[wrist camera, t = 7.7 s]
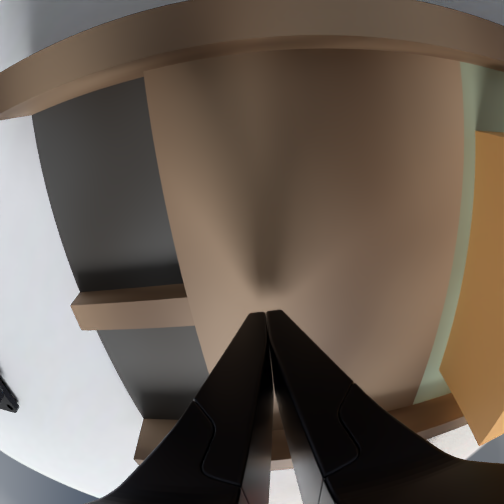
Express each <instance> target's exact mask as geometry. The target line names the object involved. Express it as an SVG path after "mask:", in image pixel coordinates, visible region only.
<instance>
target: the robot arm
mask: <svg viewBox="0 0 504 504" xmlns="http://www.w3.org/2000/svg"><path fill="white" fill-rule="evenodd" d="M266 320H267V321H266ZM270 357H271V358H270ZM271 366H272V367H271ZM272 375H273V377H272ZM273 384H274V387H273ZM274 391H275V396H276V401H277V404H278V408H279V412H280V416H281V420H282V424H283V428H284V432H285V436H286V440H287V444H288V447H289V451H290V455H291V459H292V463H293V467H294V471H295V474H296V478H297V482H298V486H299V490H300V493H301V497H302V501H303V504H504V464H500V463H487V462H477V461H468V460H463V459H460V458H456V457H454V456H451V455H449V454H447V453H445V452H443V451H442V450H440V449H438V448H437V447H435V446H434V445H433V444H431V443H430V442H428V441H427V440H425V439H424V438H423V437H421V436H420V435H418V434H417V433H416V432H414V431H413V430H411V429H410V428H409V427H407V426H406V425H404V424H403V423H402V422H400V421H399V420H398V419H396V418H395V417H394V416H392V415H391V414H390V413H388V412H387V411H386V410H385V409H383V408H382V407H381V406H380V405H378V404H377V403H376V402H375V401H374V400H373V399H372V398H371V397H370V396H369V395H367V394H366V393H365V392H364V391H363V390H362V389H361V388H360V387H359V386H358V385H357V384H356V383H354V381H353V380H352V379H351V378H350V377H349V376H348V375H347V374H346V373H345V372H344V371H343V370H342V369H341V368H340V367H339V366H338V365H337V364H336V363H335V362H334V361H333V360H332V359H331V358H330V357H329V356H328V355H327V354H326V353H325V352H324V351H323V350H322V349H321V348H320V347H319V346H318V345H317V344H316V343H315V342H314V341H313V340H312V339H311V338H310V337H309V336H308V335H307V334H306V333H305V332H304V331H303V330H302V329H301V328H300V327H299V326H298V325H297V324H296V323H295V322H294V321H293V320H292V319H291V318H290V317H289V316H288V315H287V314H286V313H285V312H284V311H283V310H281V309H279V310H271V311H267V312H266V314H265V312H263V311H262V312H253V313H249V314H248V316H247V317H246V319H245V320H244V322H243V324H242V325H241V327H240V328H239V330H238V331H237V333H236V335H235V336H234V338H233V339H232V341H231V342H230V344H229V345H228V347H227V348H226V350H225V352H224V353H223V355H222V356H221V358H220V359H219V361H218V362H217V364H216V365H215V367H214V368H213V370H212V371H211V373H210V375H209V376H208V378H207V379H206V381H205V382H204V384H203V385H202V387H201V388H200V390H199V391H198V393H197V394H196V396H195V397H194V399H193V400H194V401H191V403H190V404H189V406H188V407H187V409H186V410H185V412H184V413H183V415H182V416H181V417H180V419H179V420H178V421H177V423H176V424H175V426H174V427H173V428H172V429H171V431H170V432H169V433H168V434H167V435H166V436H165V438H164V439H163V440H162V441H161V442H160V444H159V445H158V446H157V447H156V448H155V449H154V450H153V451H152V452H151V453H150V455H149V456H148V457H147V458H146V459H145V460H144V461H143V462H142V463H141V464H140V465H139V466H138V467H137V468H136V469H135V471H134V472H133V473H132V474H131V475H130V476H129V477H128V478H127V479H126V480H125V481H124V482H123V483H122V484H121V485H120V486H119V487H117V488H116V489H115V490H114V491H112V492H111V493H109V494H108V495H106V496H104V497H102V498H100V499H98V500H95V501H92V502H89V503H85V504H268V502H269V486H270V469H271V451H272V430H273V407H274ZM0 409H3V410H7V411H10V412H14V413H16V412H17V410H18V409H19V405H18V404H17V402H16V401H15V400H14V398H13V397H12V396H11V394H10V393H9V392H8V390H7V389H6V388H5V386H4V385H3V384H2V382H1V381H0Z"/></svg>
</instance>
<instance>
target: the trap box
mask: <svg viewBox="0 0 504 504" xmlns="http://www.w3.org/2000/svg"><path fill="white" fill-rule="evenodd" d="M29 115H32V120H33V126H34V132H35V138H36V143H37V149H38V154H39V159H40V163H41V168H42V172H43V177H44V181H45V185H46V189H47V193H48V197H49V200H50V204H51V208H52V211H53V215H54V218H55V222H56V225H57V228H58V231H59V235H60V238H61V241H62V244H63V247H64V250H65V253H66V256H67V259H68V261H69V264H70V267H71V270H72V272H73V275H74V278H75V280H76V283H77V286H78V288H79V291H80V293H79V295H78V296H77V297H76V299H75V300H74V301H73V303H72V304H71V305H70V306H71V308H72V310H73V313H74V315H75V317H76V319H77V321H78V324H79V326H80V328H81V330H97V332H98V335H99V337H100V339H101V341H102V343H103V345H104V347H105V349H106V351H107V353H108V355H109V357H110V359H111V361H112V363H113V365H114V367H115V369H116V371H117V373H118V375H119V377H120V378H121V380H122V382H123V384H124V386H125V388H126V389H127V391H128V393H129V395H130V396H131V398H132V400H133V402H134V403H135V405H136V407H137V408H138V410H139V412H140V413H141V415H142V417H143V418H144V419H143V423H142V427H141V431H140V435H139V439H138V443H137V447H136V451H135V455H134V460H135V461H136V462H137V464H138V465H140V464H141V463H142V462H143V461H144V460H145V459H146V458H147V457H148V456H149V455H150V453H151V452H152V451H153V450H154V449H155V448H156V447H157V446H158V445H159V444H160V442H161V441H162V440H163V439H164V438H165V436H166V435H167V434H168V433H169V432H170V431H171V429H172V428H173V427H174V426H175V424H176V423H177V421H178V420H179V419H180V417H181V416H182V415H183V413H184V412H185V410H186V409H187V407H188V406H189V404H190V403H191V401H194V400H193V399H194V397H195V396H196V394H197V393H198V391H199V390H200V388H201V387H202V385H203V384H204V382H205V381H206V379H207V378H208V376H209V375H210V373H211V371H212V370H213V368H214V367H215V365H216V364H217V362H218V361H219V359H220V358H221V356H222V355H223V353H224V352H225V350H226V348H227V347H228V345H229V344H230V342H231V341H232V339H233V338H234V336H235V335H236V333H237V331H238V330H239V328H240V327H241V325H242V324H243V322H244V320H245V319H246V317H247V316H248V314H249V313H253V312H262V311H263V312H265V314H266V312H267V311H271V310H279V309H281V310H283V311H284V312H285V313H286V314H287V315H288V316H289V317H290V318H291V319H292V320H293V321H294V322H295V323H296V324H297V325H298V326H299V327H300V328H301V329H302V330H303V331H304V332H305V333H306V334H307V335H308V336H309V337H310V338H311V339H312V340H313V341H314V342H315V343H316V344H317V345H318V346H319V347H320V348H321V349H322V350H323V351H324V352H325V353H326V354H327V355H328V356H329V357H330V358H331V359H332V360H333V361H334V362H335V363H336V364H337V365H338V366H339V367H340V368H341V369H342V370H343V371H344V372H345V373H346V374H347V375H348V376H349V377H350V378H351V379H352V380H353V381H354V383H356V384H357V385H358V386H359V387H360V388H361V389H362V390H363V391H364V392H365V393H366V394H367V395H369V396H370V397H371V398H372V399H373V400H374V401H375V402H376V403H377V404H378V405H380V406H381V407H382V408H383V409H385V410H386V411H387V412H388V413H390V414H391V415H392V416H394V417H395V418H396V419H398V420H399V421H400V422H402V423H403V424H404V425H406V426H407V427H409V428H410V429H411V430H413V431H414V432H416V433H417V434H418V435H420V436H421V437H423V438H424V439H425V440H426V439H429V438H432V437H434V436H437V435H440V434H443V433H446V432H448V431H451V430H454V429H456V428H459V427H461V426H464V425H466V424H468V423H467V421H466V419H465V417H464V415H463V413H462V411H461V409H460V407H459V405H458V404H457V402H456V400H455V398H454V396H453V394H452V392H451V391H450V389H449V387H448V385H447V383H446V382H445V380H444V378H443V376H442V375H441V373H440V371H439V368H440V365H441V362H442V359H443V355H444V352H445V349H446V346H447V342H448V339H449V335H450V331H451V328H452V324H453V320H454V316H455V312H456V308H457V304H458V299H459V295H460V290H461V285H462V280H463V275H464V270H465V264H466V258H467V252H468V245H469V237H470V230H471V221H472V211H473V199H474V183H475V131H490V132H504V26H502V25H499V24H497V23H494V22H491V21H488V20H486V19H483V18H480V17H477V16H474V15H471V14H467V13H464V12H461V11H457V10H454V9H450V8H446V7H443V6H439V5H434V4H430V3H426V2H421V1H416V0H188V1H183V2H179V3H174V4H170V5H165V6H161V7H157V8H153V9H149V10H146V11H142V12H139V13H135V14H132V15H128V16H125V17H122V18H119V19H116V20H113V21H110V22H107V23H104V24H101V25H99V26H96V27H93V28H91V29H88V30H85V31H83V32H80V33H78V34H76V35H73V36H71V37H68V38H66V39H64V40H62V41H59V42H57V43H55V44H53V45H51V46H49V47H47V48H44V49H42V50H40V51H38V52H36V53H34V54H33V55H31V56H29V57H27V58H25V59H23V60H21V61H19V62H18V63H16V64H14V65H12V66H11V67H9V68H7V69H5V70H4V71H2V72H0V120H5V119H11V118H16V117H22V116H29ZM266 321H267V320H266ZM270 358H271V357H270ZM271 367H272V366H271ZM272 377H273V375H272ZM273 387H274V384H273ZM293 468H294V467H293V463H292V459H291V455H290V451H289V447H288V444H287V440H286V436H285V432H284V428H283V424H282V420H281V416H280V412H279V408H278V404H277V401H276V396H275V391H274V407H273V430H272V451H271V469H270V471H273V470H284V469H293Z"/></svg>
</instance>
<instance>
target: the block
mask: <svg viewBox="0 0 504 504" xmlns="http://www.w3.org/2000/svg"><path fill="white" fill-rule="evenodd" d="M439 371H440V373H441V375H442V376H443V378H444V380H445V382H446V383H447V385H448V387H449V389H450V391H451V392H452V394H453V396H454V398H455V400H456V402H457V404H458V405H459V407H460V409H461V411H462V413H463V415H464V417H465V419H466V421H467V423H468V425H469V427H470V429H471V431H472V433H473V435H474V437H475V439H476V441H477V443H478V445H479V446H480V445H483V444H485V443H487V442H489V441H491V440H492V439H494V438H496V437H498V436H500V435H502V434H504V132H490V131H475V183H474V199H473V211H472V221H471V230H470V237H469V245H468V252H467V258H466V264H465V270H464V275H463V280H462V285H461V290H460V295H459V299H458V304H457V308H456V312H455V316H454V320H453V324H452V328H451V331H450V335H449V339H448V342H447V346H446V349H445V352H444V355H443V359H442V362H441V365H440V368H439Z"/></svg>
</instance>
